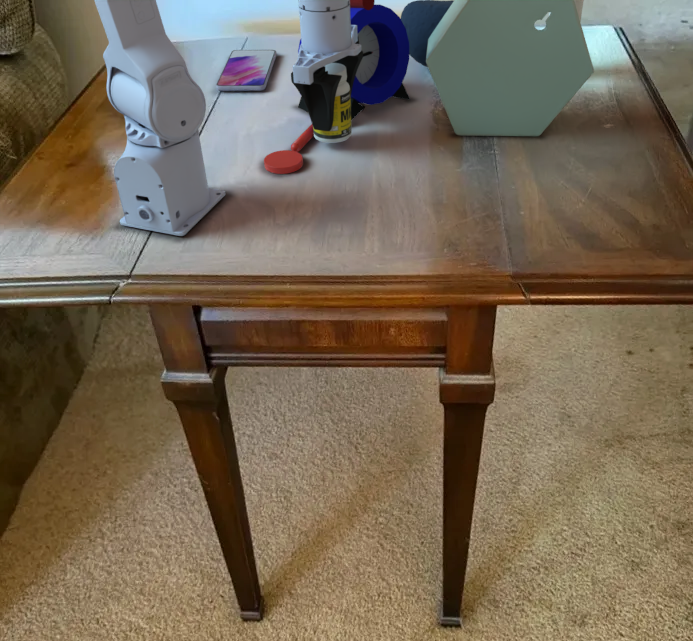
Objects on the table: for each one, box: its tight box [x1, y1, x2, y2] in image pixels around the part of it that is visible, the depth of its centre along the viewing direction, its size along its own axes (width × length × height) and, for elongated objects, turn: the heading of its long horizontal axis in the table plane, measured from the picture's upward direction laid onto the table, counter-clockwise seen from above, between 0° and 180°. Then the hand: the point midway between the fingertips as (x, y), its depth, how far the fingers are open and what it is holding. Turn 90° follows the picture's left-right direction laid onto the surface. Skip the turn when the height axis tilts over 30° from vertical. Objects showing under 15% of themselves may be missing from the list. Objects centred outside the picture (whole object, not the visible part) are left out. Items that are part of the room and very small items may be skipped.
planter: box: [426, 0, 595, 137], centre depth 92 cm, size 17×8×21 cm
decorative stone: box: [400, 0, 454, 68], centre depth 110 cm, size 12×12×10 cm
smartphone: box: [215, 49, 278, 92], centre depth 114 cm, size 7×1×15 cm
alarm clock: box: [297, 0, 411, 122], centre depth 100 cm, size 12×12×15 cm
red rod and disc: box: [263, 123, 314, 175], centre depth 94 cm, size 13×5×1 cm, turn 158°
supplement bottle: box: [313, 63, 352, 144], centre depth 92 cm, size 5×5×8 cm
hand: (331, 120), depth 93 cm, fingers closed on supplement bottle, 5 cm apart
